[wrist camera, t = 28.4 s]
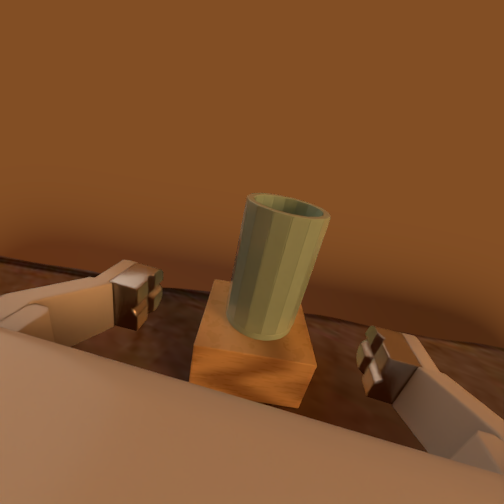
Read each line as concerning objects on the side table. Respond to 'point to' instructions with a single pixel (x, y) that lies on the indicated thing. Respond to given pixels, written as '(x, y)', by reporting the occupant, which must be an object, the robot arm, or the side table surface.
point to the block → (250, 357)
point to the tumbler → (273, 264)
